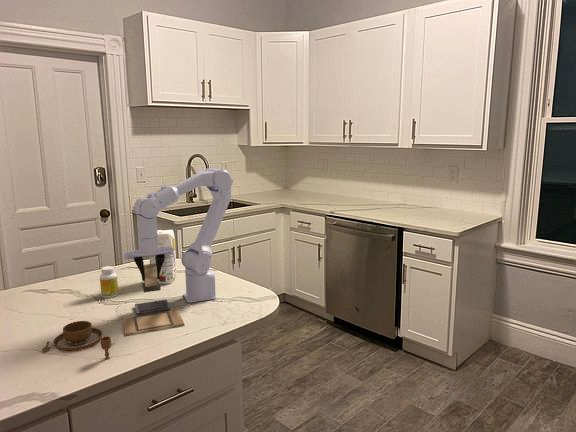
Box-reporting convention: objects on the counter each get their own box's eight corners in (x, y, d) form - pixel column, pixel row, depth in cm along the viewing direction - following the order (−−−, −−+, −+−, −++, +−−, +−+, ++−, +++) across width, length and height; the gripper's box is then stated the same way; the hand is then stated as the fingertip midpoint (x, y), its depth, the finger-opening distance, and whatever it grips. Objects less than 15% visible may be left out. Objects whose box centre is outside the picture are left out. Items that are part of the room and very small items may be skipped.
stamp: (158, 285, 142) (157, 262, 141) (160, 290, 138) (159, 267, 136) (142, 287, 140) (140, 264, 139) (143, 292, 136) (142, 269, 134)
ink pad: (167, 302, 146) (166, 298, 146) (170, 310, 139) (170, 307, 139) (135, 307, 142) (134, 303, 142) (137, 316, 135) (136, 312, 135)
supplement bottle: (112, 298, 149) (110, 270, 147) (98, 297, 150) (95, 269, 148) (121, 292, 154) (119, 265, 152) (107, 291, 155) (105, 264, 153)
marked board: (177, 311, 139) (177, 308, 139) (184, 325, 129) (184, 323, 129) (123, 320, 133) (123, 317, 132) (125, 335, 123) (125, 333, 122)
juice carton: (172, 284, 162) (170, 233, 158) (149, 284, 162) (146, 233, 158) (178, 277, 169) (175, 229, 166) (155, 277, 169) (152, 228, 166)
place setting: (114, 328, 128) (112, 309, 127) (116, 361, 110) (114, 339, 109) (45, 339, 122) (43, 318, 121) (35, 376, 104) (32, 353, 103)
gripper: (170, 231, 142) (172, 272, 145) (121, 236, 137) (125, 278, 139) (173, 236, 136) (176, 279, 138) (123, 241, 130) (126, 285, 133)
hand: (150, 279), depth 138 cm, fingers closed on stamp, 4 cm apart
